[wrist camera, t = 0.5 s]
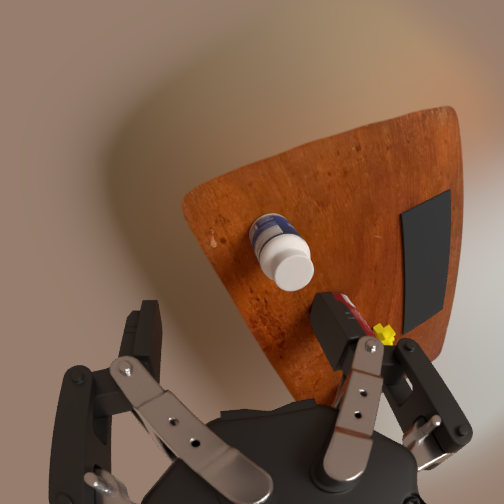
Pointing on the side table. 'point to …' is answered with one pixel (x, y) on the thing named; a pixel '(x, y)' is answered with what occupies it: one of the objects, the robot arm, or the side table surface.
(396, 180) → the side table surface
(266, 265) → the pill bottle
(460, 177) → the side table surface
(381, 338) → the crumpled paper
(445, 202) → the mat
